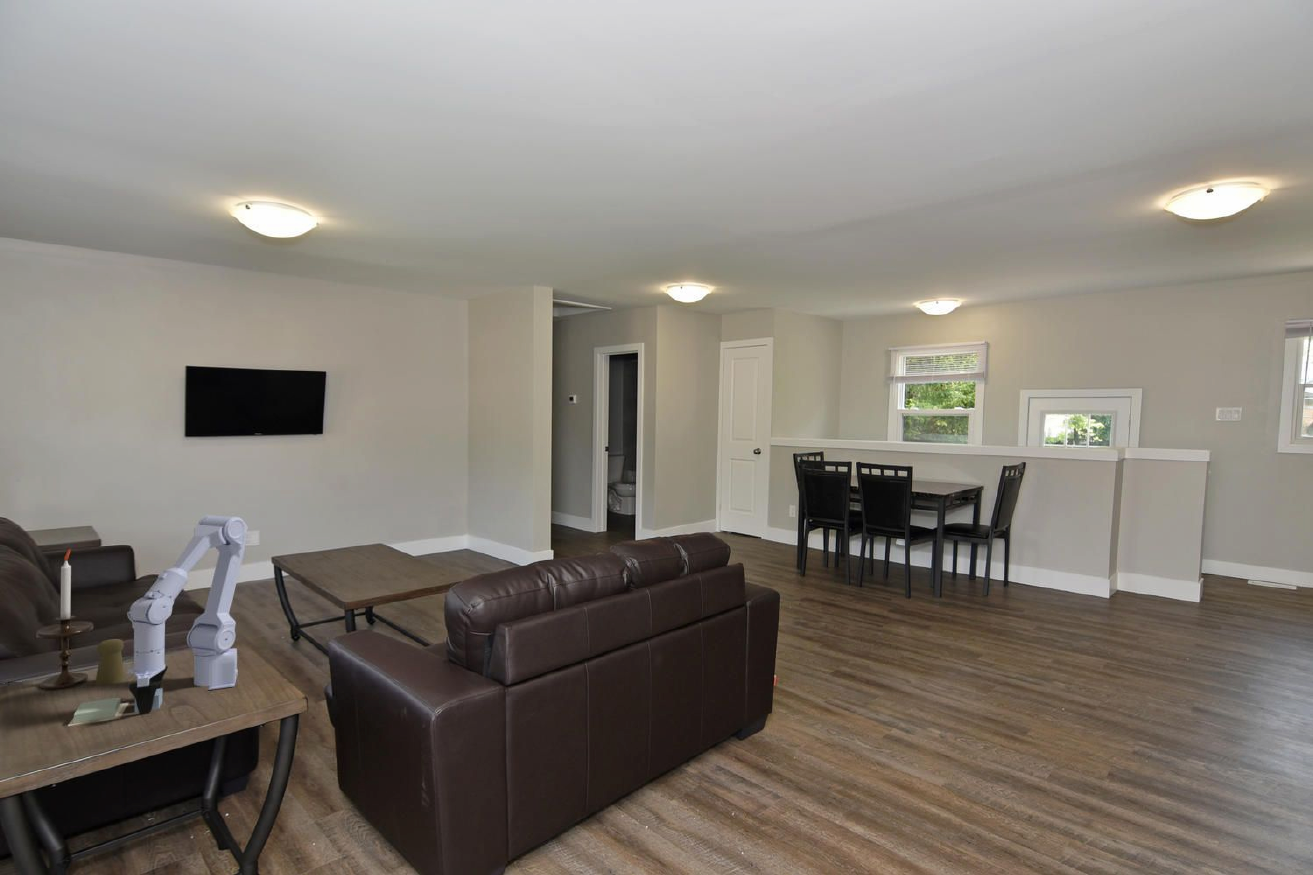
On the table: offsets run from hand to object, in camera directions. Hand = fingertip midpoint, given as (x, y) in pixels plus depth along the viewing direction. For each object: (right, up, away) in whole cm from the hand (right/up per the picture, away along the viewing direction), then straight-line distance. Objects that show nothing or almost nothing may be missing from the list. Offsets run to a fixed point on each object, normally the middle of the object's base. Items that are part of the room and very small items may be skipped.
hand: (148, 705), depth 153 cm
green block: (-8, 0, -5) cm, 9 cm away
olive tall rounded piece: (-23, -1, +16) cm, 28 cm away
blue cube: (0, -2, 0) cm, 2 cm away
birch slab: (-8, -2, -4) cm, 9 cm away
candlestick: (-33, 0, +15) cm, 36 cm away
